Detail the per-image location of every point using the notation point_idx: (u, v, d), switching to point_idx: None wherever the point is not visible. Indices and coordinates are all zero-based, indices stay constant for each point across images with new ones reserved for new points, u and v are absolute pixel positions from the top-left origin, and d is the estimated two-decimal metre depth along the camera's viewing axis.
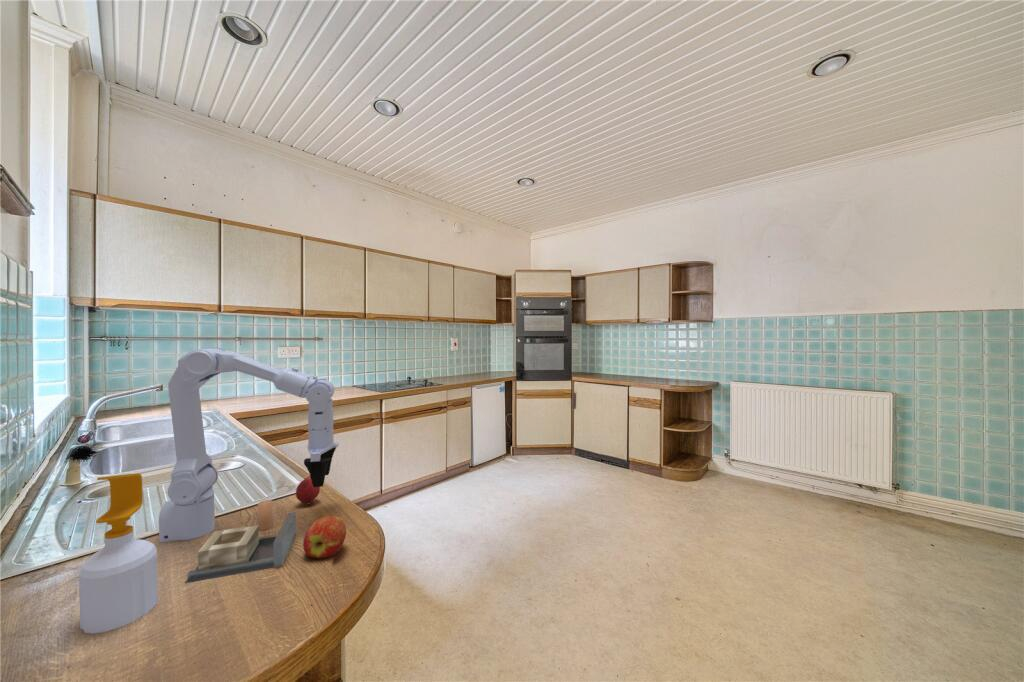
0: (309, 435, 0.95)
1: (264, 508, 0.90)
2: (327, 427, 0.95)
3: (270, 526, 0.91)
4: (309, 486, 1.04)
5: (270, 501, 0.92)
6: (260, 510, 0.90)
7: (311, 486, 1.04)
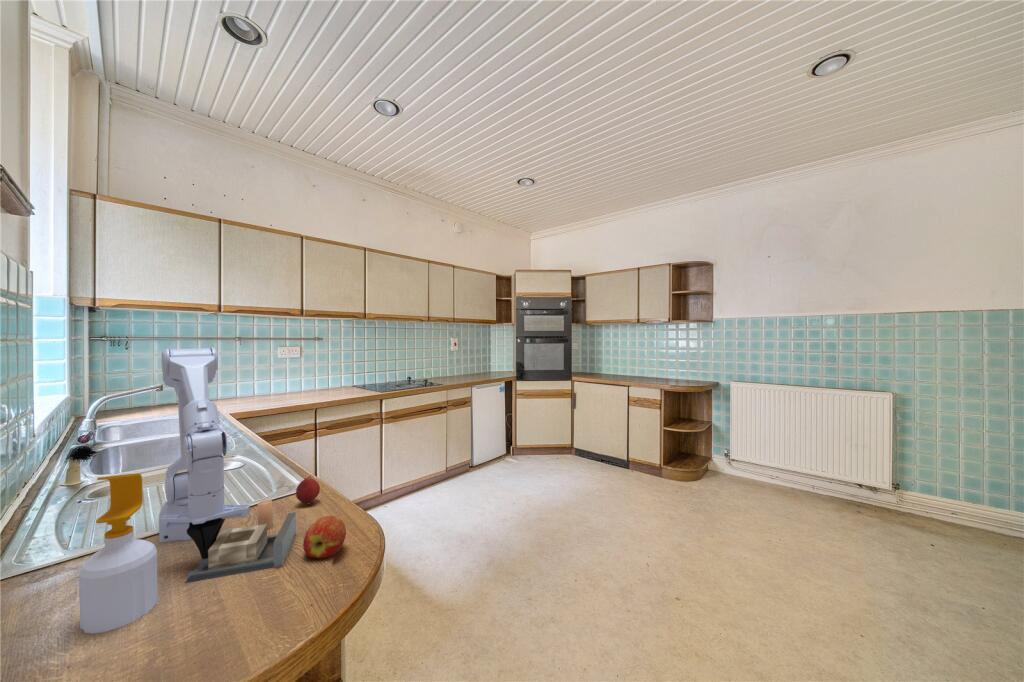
0: None
1: (264, 508, 0.90)
2: (193, 493, 0.75)
3: (270, 526, 0.91)
4: (309, 486, 1.04)
5: (270, 501, 0.92)
6: (260, 510, 0.90)
7: (311, 486, 1.04)
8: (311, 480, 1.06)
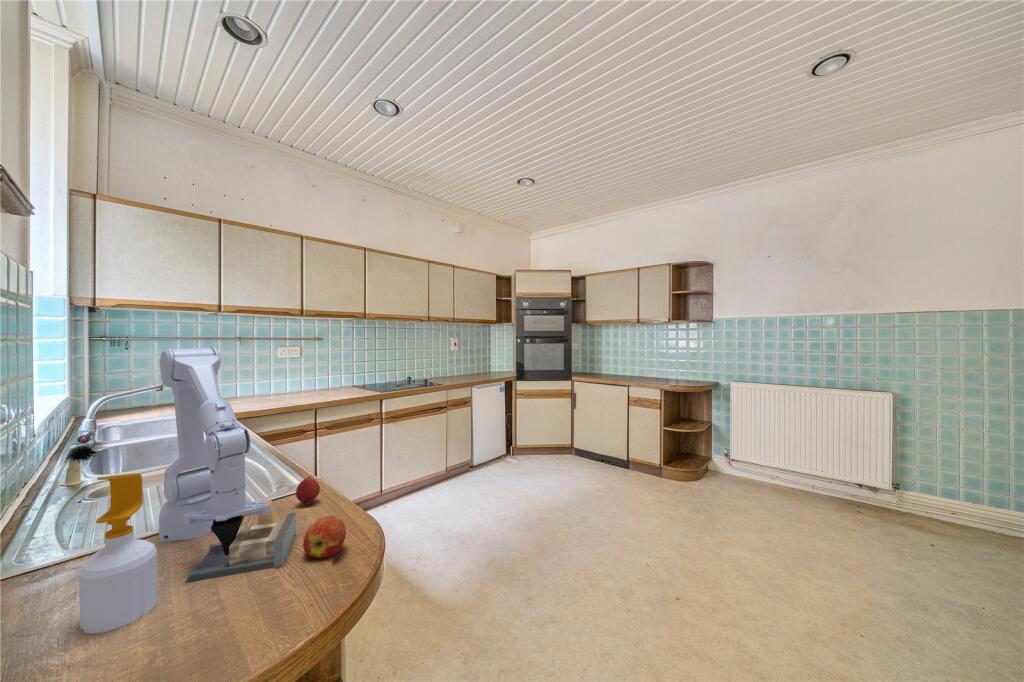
0: None
1: None
2: (219, 491, 0.76)
3: None
4: (309, 486, 1.04)
5: (270, 501, 0.92)
6: None
7: (311, 486, 1.04)
8: (311, 480, 1.06)
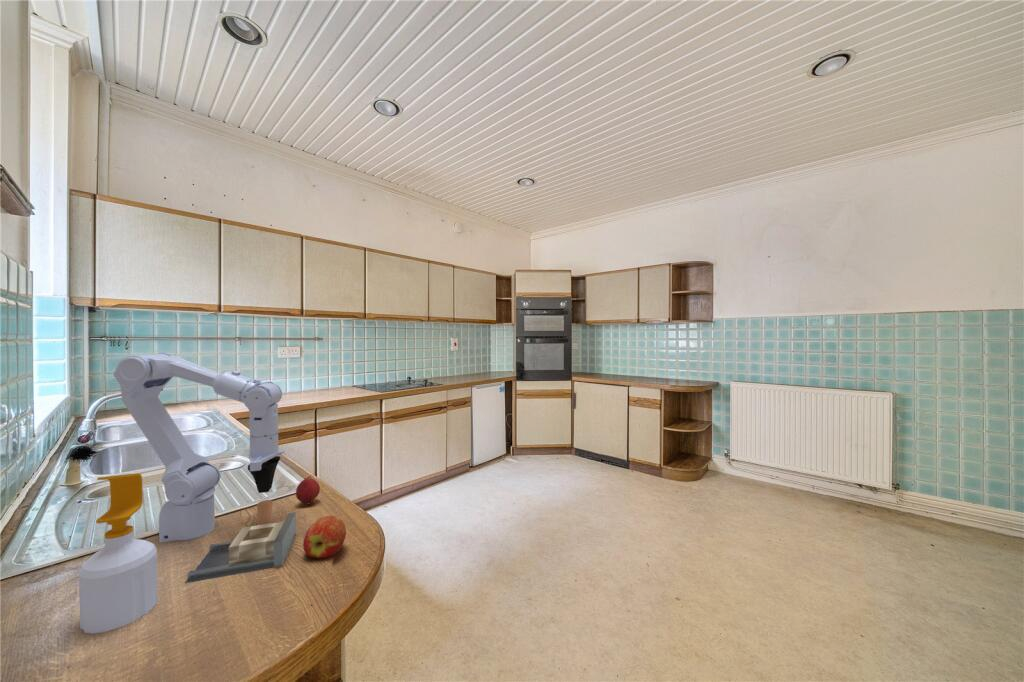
0: (250, 442, 0.89)
1: (264, 508, 0.90)
2: (267, 434, 0.89)
3: None
4: (309, 486, 1.04)
5: (270, 501, 0.92)
6: (260, 510, 0.90)
7: (311, 486, 1.04)
8: (311, 480, 1.06)
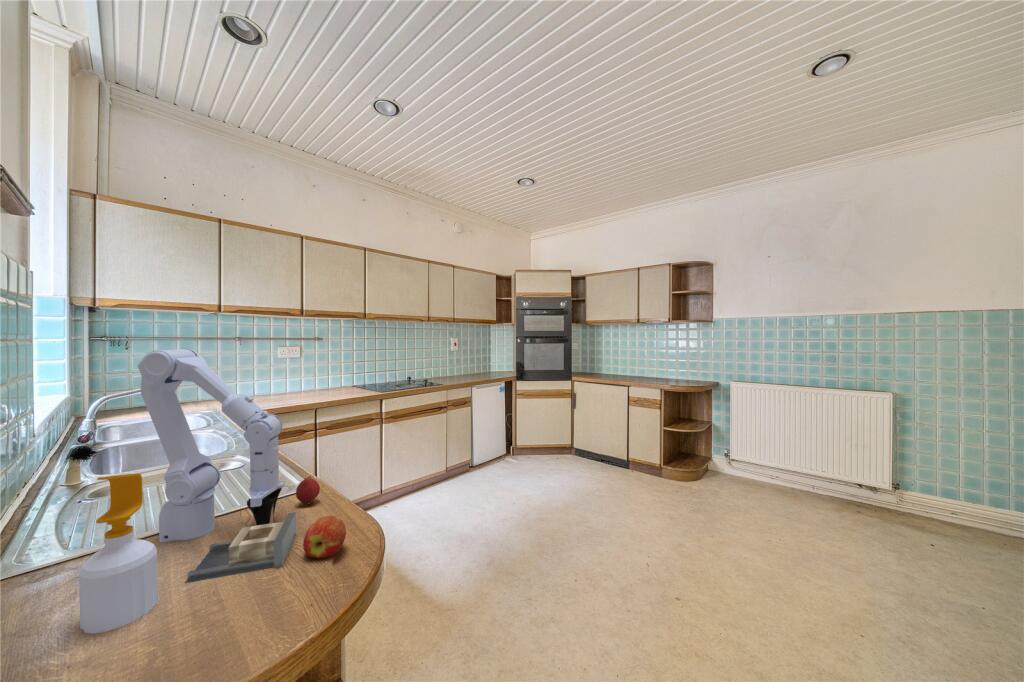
0: (251, 476, 0.89)
1: None
2: (268, 468, 0.89)
3: None
4: (309, 486, 1.04)
5: None
6: None
7: (311, 486, 1.04)
8: (311, 480, 1.06)
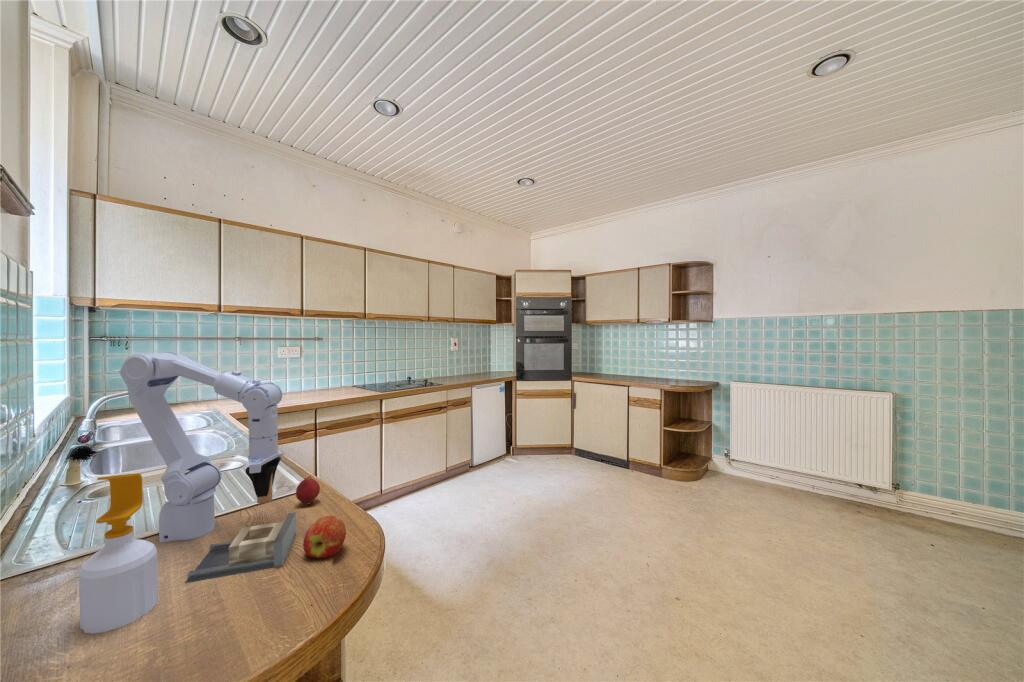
0: (249, 444, 0.87)
1: None
2: (265, 436, 0.87)
3: (270, 495, 0.90)
4: (309, 486, 1.04)
5: None
6: None
7: (311, 486, 1.04)
8: (311, 480, 1.06)
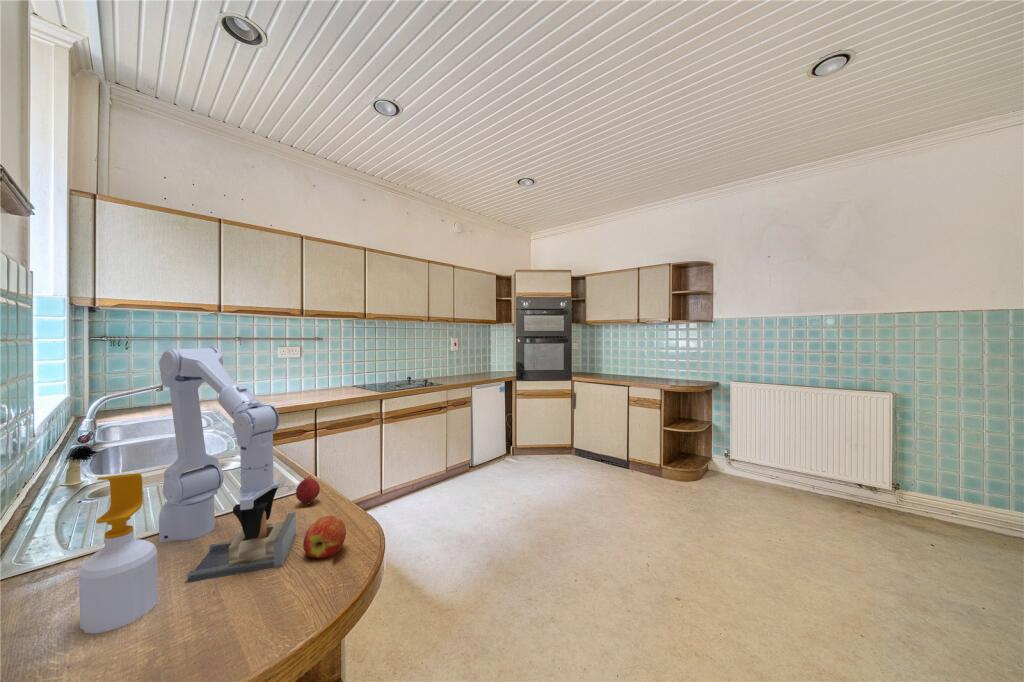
0: (241, 475, 0.78)
1: None
2: (252, 467, 0.77)
3: None
4: (309, 486, 1.04)
5: None
6: None
7: (311, 486, 1.04)
8: (311, 480, 1.06)
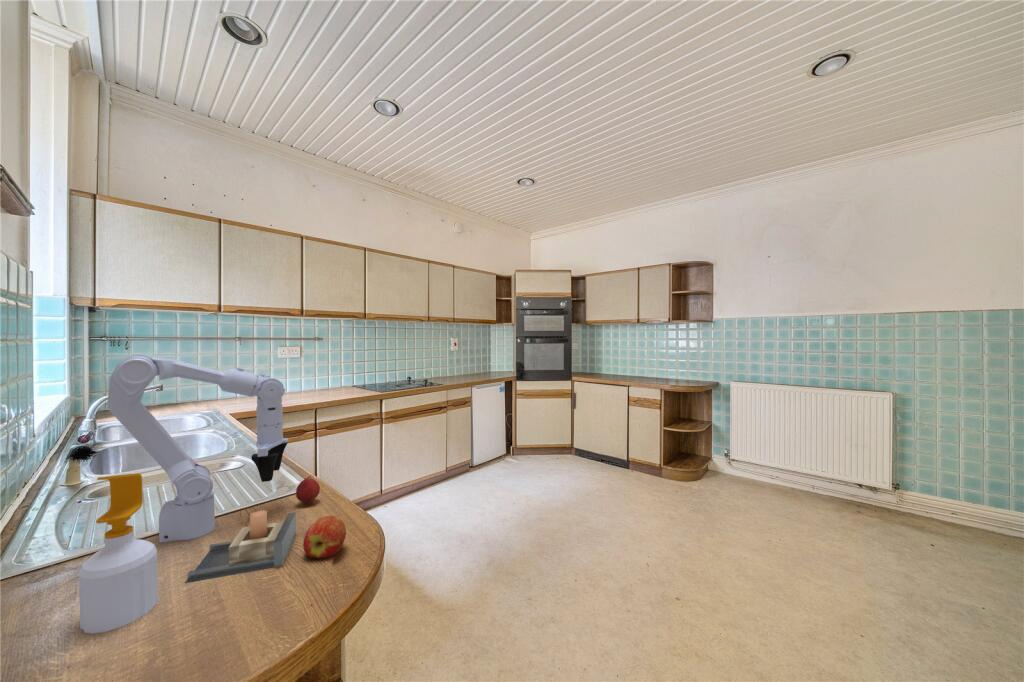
0: (257, 431, 0.97)
1: (258, 520, 0.79)
2: (279, 422, 0.99)
3: None
4: (309, 486, 1.04)
5: (264, 512, 0.81)
6: (253, 522, 0.79)
7: (311, 486, 1.04)
8: (311, 480, 1.06)
